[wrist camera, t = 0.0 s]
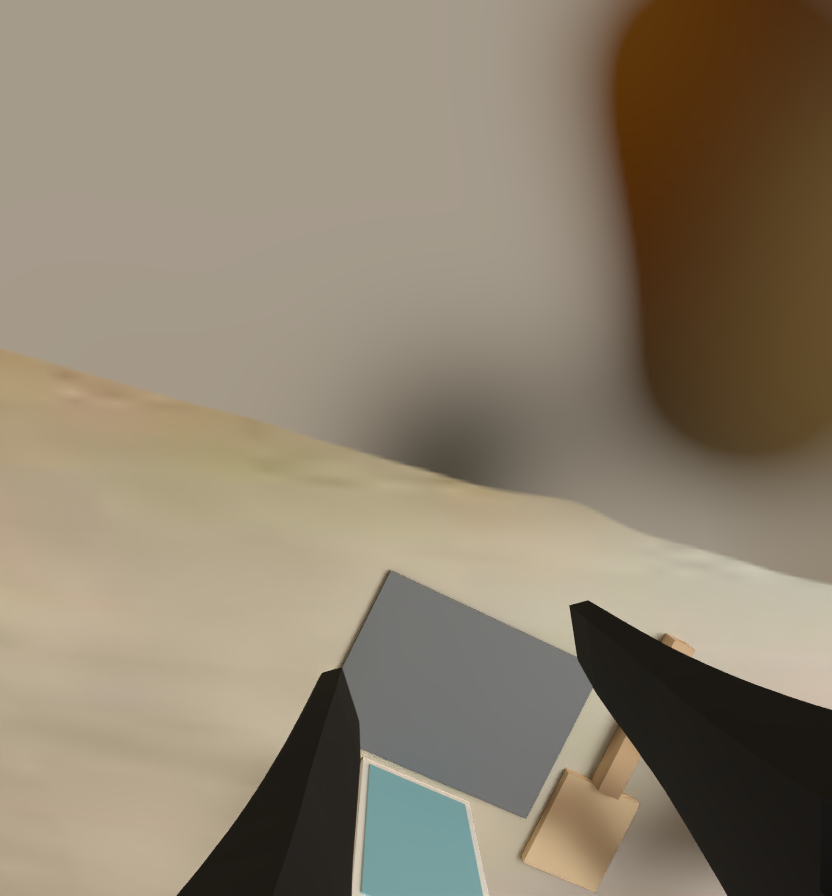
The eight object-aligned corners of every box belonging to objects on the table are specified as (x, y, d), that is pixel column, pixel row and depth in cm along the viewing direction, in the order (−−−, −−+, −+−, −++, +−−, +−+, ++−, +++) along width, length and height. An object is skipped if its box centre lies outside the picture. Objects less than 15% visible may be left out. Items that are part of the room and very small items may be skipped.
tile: (457, 825, 23) (485, 995, 16) (351, 780, 23) (333, 936, 16) (469, 800, 23) (503, 960, 16) (364, 755, 23) (351, 900, 16)
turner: (591, 884, 24) (598, 900, 23) (520, 855, 24) (525, 869, 23) (709, 654, 24) (720, 662, 23) (640, 620, 23) (649, 627, 23)
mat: (524, 815, 23) (526, 818, 23) (312, 725, 22) (312, 727, 22) (599, 668, 23) (601, 670, 23) (390, 570, 22) (390, 571, 22)
